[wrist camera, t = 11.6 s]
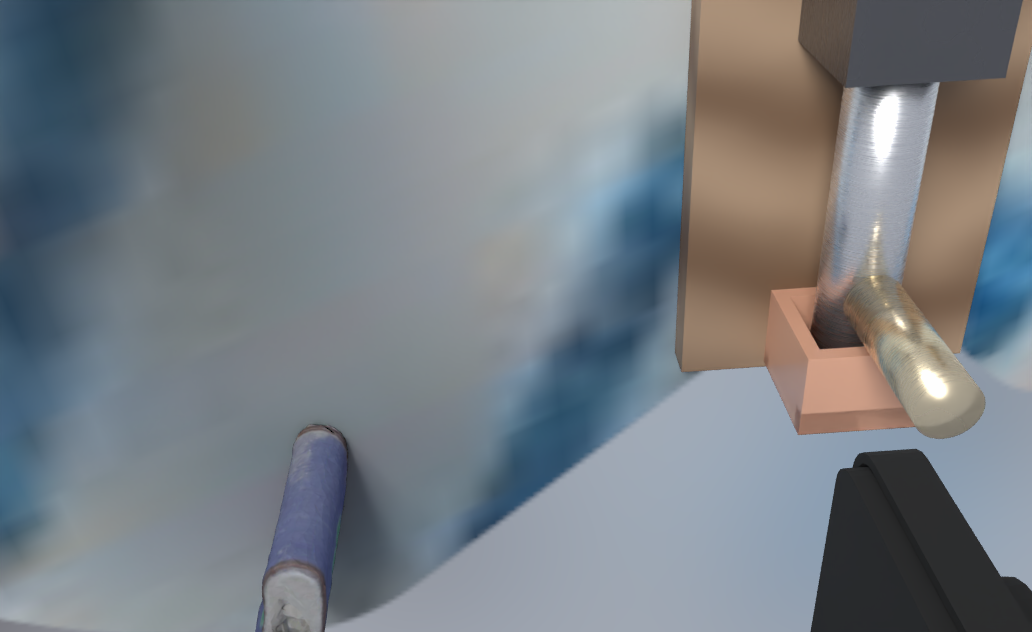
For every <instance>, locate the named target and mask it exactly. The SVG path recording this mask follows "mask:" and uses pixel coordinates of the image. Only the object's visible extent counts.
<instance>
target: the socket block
mask: <svg viewBox="0 0 1032 632" xmlns="http://www.w3.org/2000/svg"><path fill="white" fill-rule="evenodd" d="M815 294H816V287H810V288H795V289H780V290H771V297H770V306H769V316H768V325H767V334H766V344H765V353H764V363H765V365H766V367H767V369H768V371H769V373H770V375H771V378H772V380H773V382H774V384H775V386H776V388H777V390H778V392H779V394H780V397H781V399H782V401H783V403H784V405H785V408H786V410H787V412H788V414H789V416H790V418H791V420H792V423H793V425H794V427H795V429H796V431H797V433H798V435H806V434H818V433H819V434H820V433H834V432H849V431H863V430H877V429H892V428H907V427H915V425H914V424H913V422H912V420H911V419H910V417H909V416H908V414H907V412H906V411H905V409H904V408H903V406H902V405H901V403H900V401H899V400H898V398H897V397H896V395H895V393H894V392H893V390H892V389H891V387H890V386H889V384H888V382H887V381H886V379H885V378H884V376H883V375H882V373H881V371H880V370H879V368H878V367H877V365H876V363H875V362H874V360H873V359H872V357H871V356H870V354H869V352H868V351H867V349H866V348H865V346H864V347H849V348H834V349H819V347H818V346H817V344H816V342H815V340H814V338H813V337H812V335H811V333H810V331H811V324H812V316H813V309H814V302H815Z"/></svg>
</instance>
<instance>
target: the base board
mask: <svg viewBox="0 0 1032 632" xmlns="http://www.w3.org/2000/svg"><path fill="white" fill-rule="evenodd" d="M801 6H802V0H692V8H691V29H690V50H689V71H688V91H687V112H686V133H685V154H684V175H683V196H682V216H681V237H680V258H679V279H678V300H677V320H676V341H675V354H676V357H677V360H678V363H679V366H680V369H681V372H691V371H705V370H720V369H734V368H749V367H764V366H766V365H765V363H764V353H765V344H766V334H767V325H768V316H769V306H770V297H771V290H780V289H795V288H810V287H817V279H818V272H819V265H820V257H821V250H822V242H823V235H824V227H825V220H826V213H827V205H828V198H829V190H830V183H831V175H832V168H833V161H834V153H835V146H836V138H837V131H838V124H839V116H840V109H841V101H842V94H843V85H842V84H841V83H840V82H839V81H838V80H837V79H836V78H835V77H834V76H833V75H832V74H831V73H830V72H829V71H828V70H827V69H826V68H825V67H824V66H823V65H822V64H821V63H820V62H819V61H818V60H817V59H816V58H815V57H814V56H813V55H812V54H811V53H810V52H809V51H808V50H807V49H806V48H805V47H804V46H803V45H802V44H801V43H800V42H799V41H798V34H799V25H800V15H801ZM1031 47H1032V0H1023V2H1022V7H1021V11H1020V16H1019V20H1018V25H1017V29H1016V34H1015V38H1014V42H1013V47H1012V51H1011V56H1010V60H1009V65H1008V69H1007V74H1006V78H998V79H982V80H966V81H950V82H940V84H939V89H938V95H937V100H936V105H935V111H934V116H933V121H932V127H931V132H930V137H929V143H928V148H927V153H926V158H925V164H924V169H923V174H922V180H921V185H920V190H919V196H918V201H917V206H916V212H915V217H914V222H913V228H912V233H911V238H910V244H909V249H908V254H907V260H906V265H905V270H904V276H903V281H902V287H903V288H904V290H905V291H906V292H907V294H908V295H909V296H910V298H911V299H912V300H913V302H914V303H915V304H916V306H917V307H918V308H919V309H920V311H921V312H922V313H923V315H924V316H925V317H926V319H927V320H928V321H929V323H930V324H931V325H932V327H933V328H934V329H935V330H936V332H937V333H938V334H939V336H940V337H941V338H942V340H943V341H944V342H945V344H946V345H947V346H948V348H949V349H950V350H951V351H952V353H953V354H955V353H960V350H961V346H962V342H963V338H964V333H965V329H966V325H967V320H968V316H969V312H970V308H971V303H972V299H973V295H974V291H975V286H976V282H977V278H978V274H979V269H980V265H981V261H982V256H983V252H984V248H985V244H986V239H987V235H988V231H989V227H990V222H991V218H992V214H993V210H994V205H995V201H996V197H997V192H998V188H999V184H1000V180H1001V175H1002V171H1003V167H1004V163H1005V158H1006V154H1007V150H1008V145H1009V141H1010V137H1011V133H1012V128H1013V124H1014V120H1015V116H1016V111H1017V107H1018V103H1019V99H1020V94H1021V90H1022V86H1023V81H1024V77H1025V73H1026V69H1027V64H1028V60H1029V56H1030V52H1031Z"/></svg>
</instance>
